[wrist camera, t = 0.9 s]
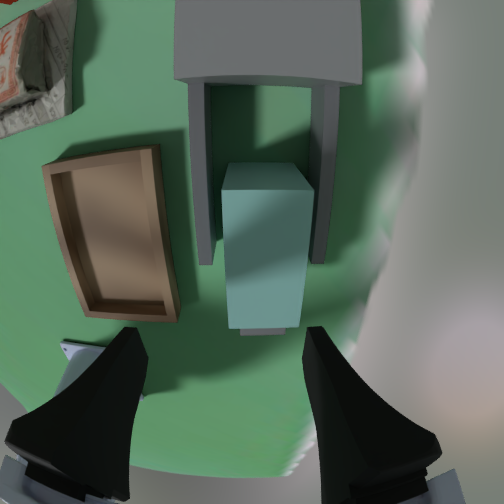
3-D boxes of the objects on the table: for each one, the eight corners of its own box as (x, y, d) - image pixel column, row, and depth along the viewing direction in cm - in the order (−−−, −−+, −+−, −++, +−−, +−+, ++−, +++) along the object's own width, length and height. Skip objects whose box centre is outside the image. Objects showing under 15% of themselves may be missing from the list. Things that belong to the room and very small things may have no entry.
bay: (313, 241, 20) (336, 292, 15) (204, 242, 20) (192, 295, 15) (323, -7, 11) (355, -45, 6) (198, -11, 11) (180, -53, 6)
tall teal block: (285, 285, 22) (296, 343, 17) (232, 286, 22) (229, 344, 17) (292, 162, 17) (314, 190, 12) (228, 162, 17) (221, 190, 12)
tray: (181, 307, 23) (177, 322, 21) (93, 303, 22) (85, 316, 21) (159, 144, 16) (151, 148, 15) (55, 159, 16) (41, 166, 15)
